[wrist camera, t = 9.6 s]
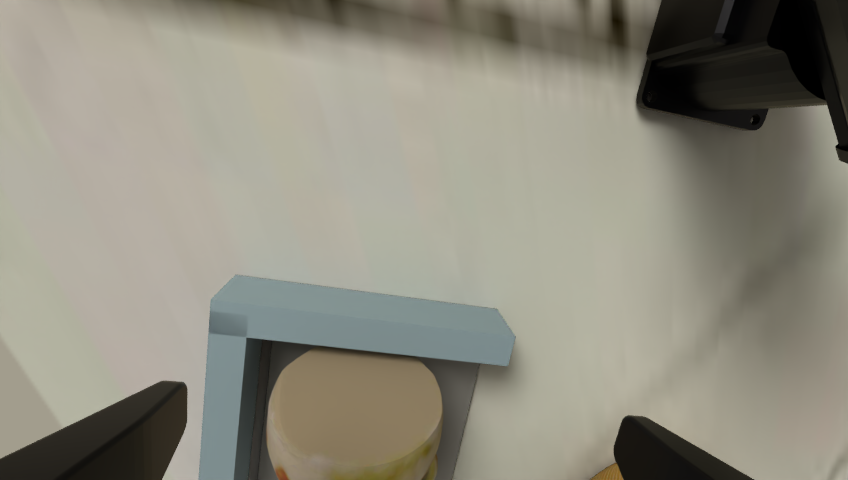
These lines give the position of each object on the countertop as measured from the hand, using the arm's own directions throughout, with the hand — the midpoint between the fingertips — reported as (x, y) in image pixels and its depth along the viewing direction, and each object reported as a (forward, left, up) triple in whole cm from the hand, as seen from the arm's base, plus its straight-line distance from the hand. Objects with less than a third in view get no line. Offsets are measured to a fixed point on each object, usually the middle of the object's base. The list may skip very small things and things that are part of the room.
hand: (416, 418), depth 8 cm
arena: (+6, +3, -12) cm, 14 cm away
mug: (-1, +11, -13) cm, 17 cm away
